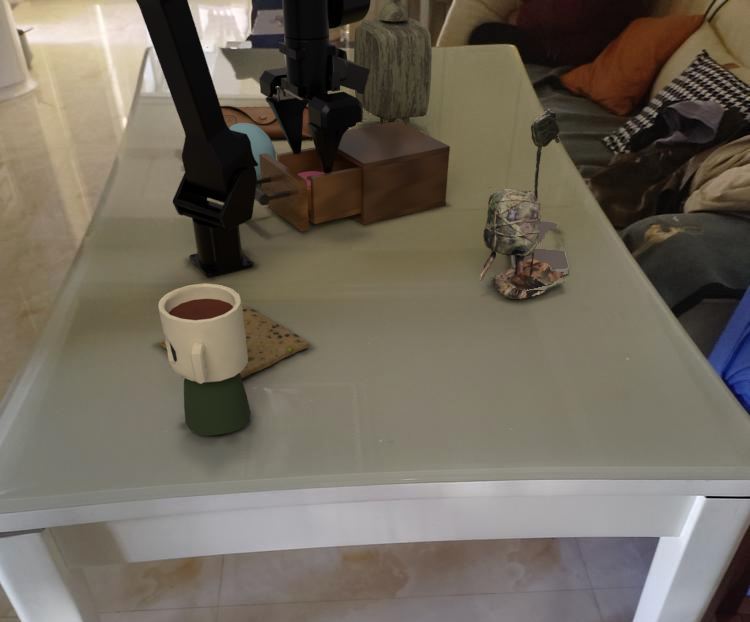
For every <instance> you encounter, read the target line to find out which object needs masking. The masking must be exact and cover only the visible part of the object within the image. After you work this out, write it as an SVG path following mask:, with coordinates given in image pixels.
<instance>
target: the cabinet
mask: <svg viewBox="0 0 750 622" xmlns="http://www.w3.org/2000/svg"><path fill="white" fill-rule="evenodd" d="M450 152H451V146H450V145H449V144H446V143H444V142H442V141H440V140H438V139H437V138H434V137H432V136H430V135H428V134H425V133H424V132H422V131H420V130H419V129H416V128H414V127H413V126H412V127H410V126H408V125H406V123H405V122H403V121H400V120H395V122H390V123H389V122H383V124H379V123H378V124H374V125H368V126H362V127H358V128H357V127H356V128H351V129H348V130H347V131H346V132H345V133H344V134H343V136H342V139H341V142H340V144H339V148H338V151H337V154H339V155H341V156H342V157H344V158H346V159H347V160H349V161H351V162H352V163H354V164H356V165H357V166H359V167H361V213H360V214H356V215H351V216H350V217H352V218H353V219H354V220H355V221H357V222H359V223H360V224H361V225H363V226H365V225H370V224H373V223H378V222H382V221H387V220H390V219H395V218H399V217H402V216H403V217H404V216H407V215H413V214H415V213H420V212H424V211H427V210H432V209H437V208H440V207H444V206H446V203H447V202H446V201H447V188H448V176H449V162H450Z"/></svg>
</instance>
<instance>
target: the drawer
mask: <svg viewBox="0 0 750 622" xmlns="http://www.w3.org/2000/svg"><path fill="white" fill-rule="evenodd" d="M259 159H260V171H261V178H260V179H257V184H256V185H258V184H261V189H260V188H259V187H258V186H256V192H255V200H254V201H256V202H257V203H258V204H260V205H261V206H268V207H269V208H271V209H272V210H273V211H274V212H276V213H277V214H279V215H280V216H281V217H282V218H284V219H285V220H286V221H287V222H288V223H290V224H291V225H293V226H294V227H295V228H297V229H298V230H299V231H300V232H305V231H309V230H310V226H309V224H310V223H309V221H310V222H311V223H313V224H315V225H317V224H320V223H325V222H329V221H333V220H334V221H335V220H338V219H342V218H346V217H351V215H356V214H360V213H361V167H359V166H357V165H356V164H354V163H352V162H351V161H349V160H347V159H346V158H344V157H342V156H341V155H339V154H336V158H335V161H334V165H333V168H332V171H331V172H330V173H326V174H321V175H316V176H312V177H310V178H311V201H312V210H308V200H307V181H306V180H305V179H304V178H302V177H301V176H299V175H298V174H299V173H302V172H308V171H319V172H323V170H322V167H321V164H320V161H319V158H318V155H317V152H316V148H315V146H314V147H308V148H304V149H301V152H300V153H298V154H294V153H293V151H292V150H291V151H288V152H282V153H277V154H276V159H274V158H273V157H271V156H270V155H269V154H267V153H263V154H259Z"/></svg>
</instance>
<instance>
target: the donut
mask: <svg viewBox="0 0 750 622" xmlns="http://www.w3.org/2000/svg"><path fill="white" fill-rule="evenodd" d="M321 174H326V173H324V172H319V171H308V172H302V173H299V174H298V175H299V176H301V177H302V178H304V179H305V180H306V181H307V200H308V210H312V201H311V178H310V177H312V176H316V175H321Z"/></svg>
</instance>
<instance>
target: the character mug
mask: <svg viewBox="0 0 750 622" xmlns="http://www.w3.org/2000/svg"><path fill="white" fill-rule="evenodd" d="M242 306H243V305H242V299H241V296H240V294H239V292H236V290H234V289H233V288H232V287H228V286H225V285H221V284H216V283H205V282H204V283H196V284H188V285H185V286H182V287H178V288H175V289H173V290H171V291H169V292H168V293H165V295H163V297H161V298H160V300H159V302H158V312H159V317H160V322H161V327H162V332H163V337H164V339H165V342H166V348H167V349H166V353H167V357H168V364H169V366H170V368H171V369H172V370H173V371H174V372H175V374H177V375H179V376H180V377H182V378H184V379H183V408H184V409H183V410H184V420H185V424H186V426H187V427H188V429H189V430H190V432H193V433H195V434H197V435H199V436H218V435H225V434H230V433H232V432H236V431H238V430H240V429H243V428H244V427H245V426H246V425H247V424H248V423H249V422H250V421H251V413H252V412H251V408H250V403H249V398H248V395H247V392H246V388H245V385H244V381H243V378H241V375H240V373H239V372H241V371H242V370H244V368H245V366H246V364H247V362H248V354H247V345H246V337H245V328H244V320H243V311H242Z"/></svg>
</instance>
